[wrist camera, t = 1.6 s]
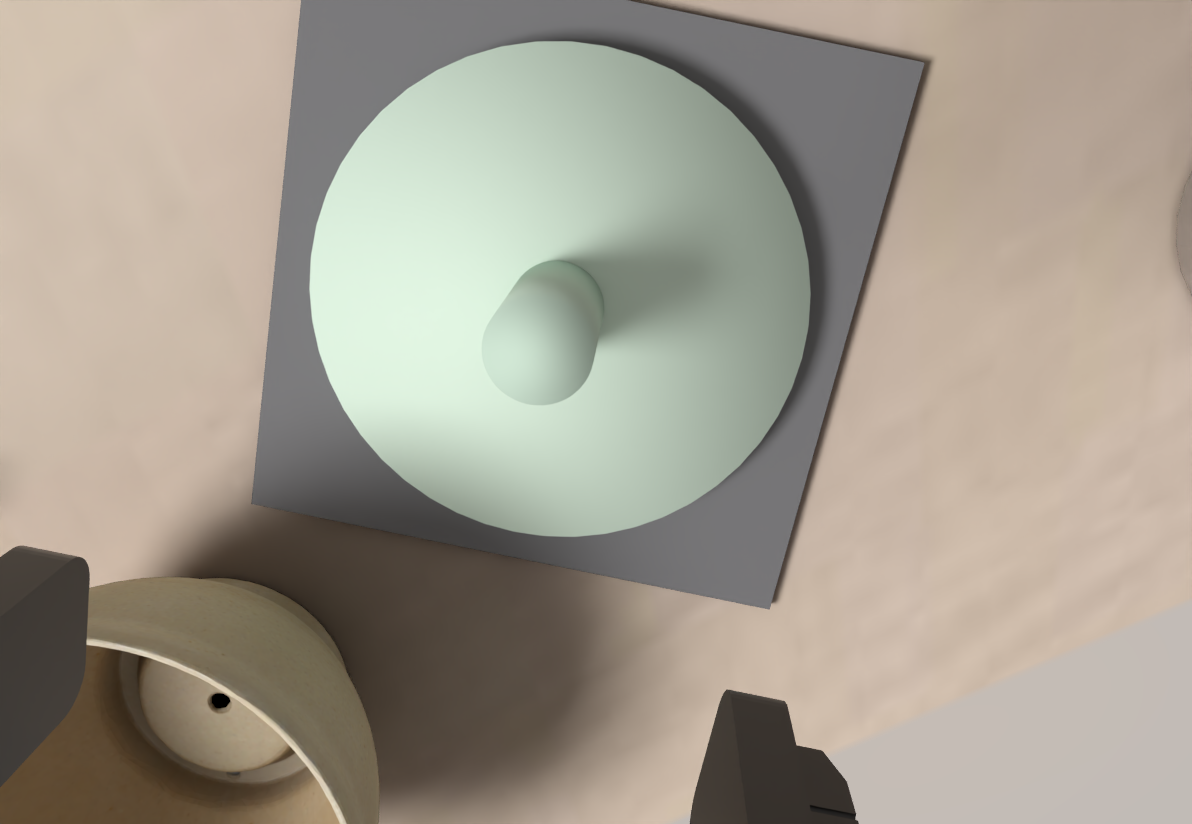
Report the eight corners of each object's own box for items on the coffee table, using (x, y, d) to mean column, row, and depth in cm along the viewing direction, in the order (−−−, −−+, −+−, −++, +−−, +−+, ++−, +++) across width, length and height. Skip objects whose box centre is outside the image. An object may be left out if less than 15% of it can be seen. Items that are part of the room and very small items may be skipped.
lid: (865, 101, 33) (919, 104, 26) (739, 566, 38) (758, 667, 31) (349, -7, 33) (271, -31, 26) (294, 475, 38) (218, 557, 31)
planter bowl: (508, 750, 41) (461, 970, 31) (195, 892, 45) (57, 1135, 34) (287, 422, 38) (149, 548, 27) (-38, 603, 41) (-274, 778, 30)
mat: (921, 62, 33) (924, 62, 32) (768, 604, 39) (769, 609, 38) (311, -66, 32) (307, -67, 32) (255, 499, 39) (251, 503, 38)
